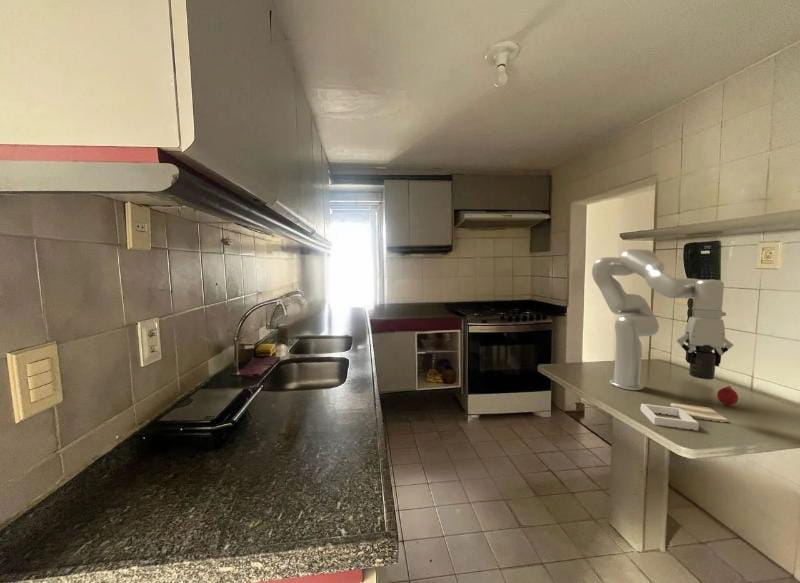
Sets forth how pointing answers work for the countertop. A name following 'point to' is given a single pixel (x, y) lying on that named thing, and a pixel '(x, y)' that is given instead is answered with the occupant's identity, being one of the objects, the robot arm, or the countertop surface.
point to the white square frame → (685, 423)
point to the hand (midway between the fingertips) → (702, 363)
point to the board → (700, 412)
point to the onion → (727, 396)
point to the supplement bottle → (703, 363)
